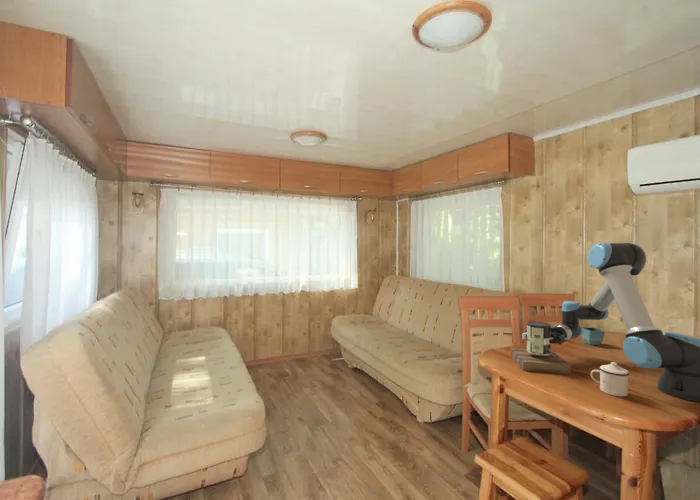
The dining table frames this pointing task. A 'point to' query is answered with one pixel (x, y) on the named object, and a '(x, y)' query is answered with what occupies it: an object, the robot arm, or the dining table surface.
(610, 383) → the teacup with lid
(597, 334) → the flower pot
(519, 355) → the walnut block
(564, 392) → the dining table surface
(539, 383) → the dining table surface
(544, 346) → the coffee can
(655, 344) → the robot arm
